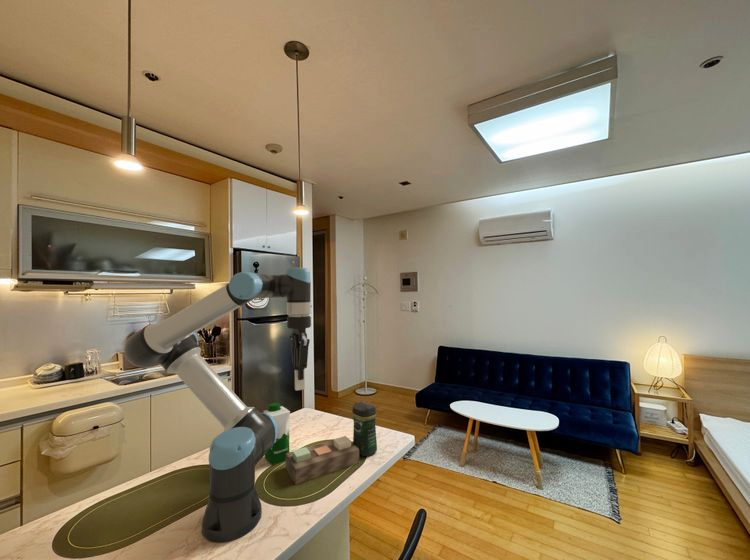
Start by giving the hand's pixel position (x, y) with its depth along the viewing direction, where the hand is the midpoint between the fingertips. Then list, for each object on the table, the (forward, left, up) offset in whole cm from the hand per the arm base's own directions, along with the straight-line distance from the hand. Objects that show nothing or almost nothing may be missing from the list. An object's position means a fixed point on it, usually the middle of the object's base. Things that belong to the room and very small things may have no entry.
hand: (299, 389), depth 101 cm
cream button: (+20, +11, -29) cm, 37 cm away
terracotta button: (+12, +11, -31) cm, 35 cm away
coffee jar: (+30, +11, -33) cm, 46 cm away
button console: (+12, +11, -32) cm, 36 cm away
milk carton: (-1, +25, -33) cm, 41 cm away
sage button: (+4, +11, -29) cm, 31 cm away
